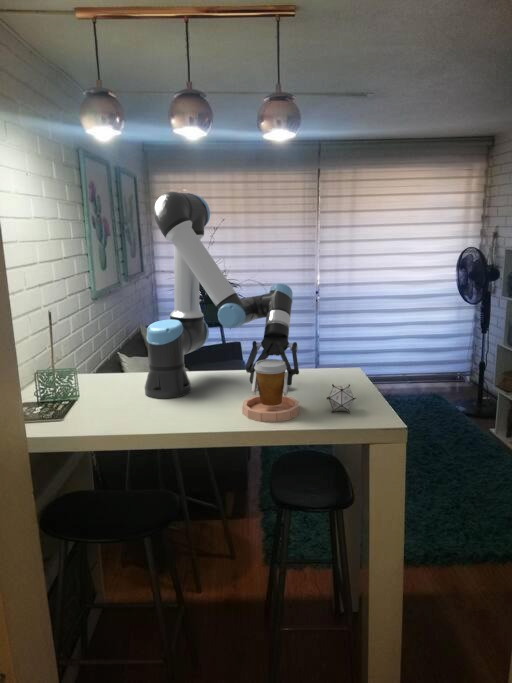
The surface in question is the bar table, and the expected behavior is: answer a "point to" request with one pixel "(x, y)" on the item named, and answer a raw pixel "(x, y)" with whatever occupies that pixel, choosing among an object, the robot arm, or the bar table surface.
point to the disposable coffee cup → (270, 380)
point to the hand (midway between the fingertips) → (269, 393)
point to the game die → (341, 398)
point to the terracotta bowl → (270, 409)
